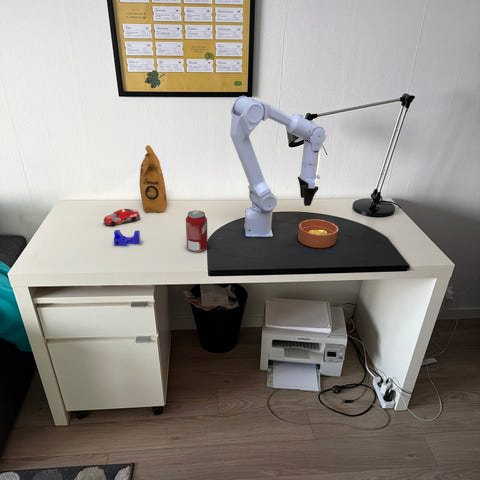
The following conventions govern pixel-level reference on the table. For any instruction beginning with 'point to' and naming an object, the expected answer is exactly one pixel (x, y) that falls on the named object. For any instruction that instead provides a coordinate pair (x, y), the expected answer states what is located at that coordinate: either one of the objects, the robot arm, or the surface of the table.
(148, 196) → the coffee package
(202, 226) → the soda can
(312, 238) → the basin
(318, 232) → the yellow squeeze bottle
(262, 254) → the table surface
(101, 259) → the table surface
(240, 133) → the robot arm
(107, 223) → the race car
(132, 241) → the cable holder
